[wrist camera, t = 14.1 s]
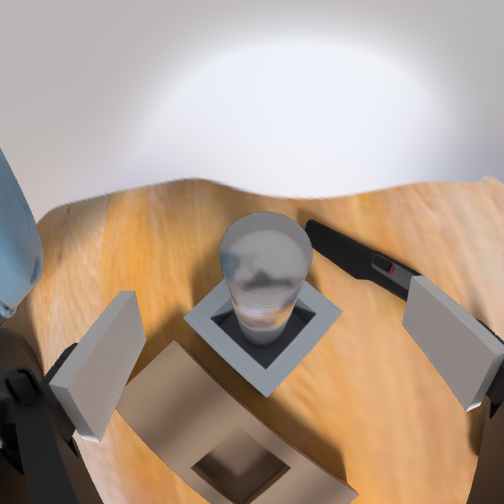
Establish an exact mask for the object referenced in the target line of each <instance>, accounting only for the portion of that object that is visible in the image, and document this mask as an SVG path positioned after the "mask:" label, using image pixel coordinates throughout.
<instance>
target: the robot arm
mask: <svg viewBox="0 0 504 504" xmlns="http://www.w3.org/2000/svg"><path fill="white" fill-rule="evenodd" d="M43 269H44V249H43V244H42V240H41V237H40V234H39V230H38V228H37V225H36V223H35V220H34V217H33V215H32V213H31V210H30V208H29V206H28V204H27V201H26V199H25V197H24V195H23V192H22V191H21V188H20V186H19V184H18V182H17V180H16V178H15V176H14V174H13V172H12V170H11V168H10V166H9V164H8V162H7V160H6V158H5V156H4V154H3V152H2V151H1V149H0V504H104V503H103V501H102V499H101V498H100V496H99V494H98V492H97V490H96V488H95V485H94V483H93V481H92V479H91V477H90V475H89V473H88V470H87V468H86V466H85V463H84V461H83V459H82V456H81V454H80V451H79V449H78V446H77V443H76V441H75V440H74V438H73V437H72V435H73V433H74V431H75V429H76V430H77V432H78V433H79V435H80V436H81V438H82V439H85V440H89V441H93V442H97V443H100V442H101V440H102V437H103V435H104V433H105V430H106V428H107V425H108V423H109V421H110V418H111V416H112V414H113V412H114V409H115V407H116V405H117V402H118V400H119V398H120V396H121V394H122V391H123V389H124V387H125V385H126V383H127V380H128V378H129V376H130V374H131V372H132V370H133V367H134V365H135V363H136V361H137V359H138V357H139V355H140V353H141V351H142V349H143V347H144V344H145V342H146V340H147V339H146V336H145V332H144V328H143V324H142V320H141V316H140V311H139V307H138V303H137V298H136V294H135V291H120V292H119V293H118V295H117V296H116V297H115V298H114V299H113V301H112V302H111V303H110V304H109V305H108V307H107V308H106V309H105V310H104V312H103V313H102V314H101V315H100V317H99V318H98V319H97V320H96V322H95V323H94V324H93V325H92V327H91V328H90V329H89V330H88V332H87V333H86V334H85V335H84V337H83V338H82V339H81V341H80V342H79V343H74V344H72V345H71V346H69V347H68V348H67V349H65V350H64V352H63V353H62V354H61V356H60V357H59V359H57V361H56V362H55V363H54V365H53V366H52V367H51V369H50V370H49V371H48V373H47V374H46V375H45V377H44V378H43V377H42V373H41V369H40V366H39V364H38V361H37V359H36V356H35V354H34V352H33V351H32V349H31V347H30V346H29V344H28V343H27V342H26V341H25V340H24V339H23V338H22V337H21V336H20V335H19V334H17V333H16V332H13V331H11V330H8V329H6V328H4V327H1V325H2V324H3V323H4V322H5V320H6V319H7V318H11V317H13V315H14V314H15V313H16V311H17V309H18V305H19V304H20V303H21V301H22V300H23V299H24V298H25V297H26V295H27V294H28V293H29V292H30V291H31V290H32V288H33V287H34V286H35V285H36V284H37V283H38V281H39V279H40V277H41V275H42V272H43ZM402 325H403V327H404V328H405V329H406V330H407V332H408V333H409V334H410V335H411V337H412V338H413V339H414V340H415V342H416V343H417V344H418V346H419V347H420V348H421V350H422V351H423V352H424V353H425V355H426V356H427V357H428V359H429V360H430V361H431V363H432V364H433V365H434V367H435V368H436V369H437V371H438V372H439V374H440V375H441V376H442V378H443V379H444V380H445V382H446V383H447V385H448V386H449V387H450V389H451V390H452V392H453V393H454V394H455V396H456V397H457V399H458V400H459V402H460V403H461V404H462V406H463V407H464V409H465V410H466V411H469V410H471V409H473V408H475V407H478V406H480V404H481V402H482V401H483V399H484V397H485V395H487V396H488V397H489V398H490V399H489V401H488V403H487V405H486V406H485V408H484V410H483V411H482V413H481V414H480V416H479V419H478V420H481V418H482V417H483V415H484V414H485V419H484V421H485V422H484V429H483V436H482V442H481V448H480V453H479V458H478V462H477V467H476V471H475V475H474V479H473V483H472V487H471V490H470V494H469V497H468V500H467V503H466V504H504V341H503V340H502V339H501V338H499V337H498V336H497V335H495V333H494V332H493V331H492V330H490V328H489V327H488V326H486V325H485V324H484V323H483V322H481V321H479V320H478V319H476V318H474V317H473V316H472V315H470V314H469V313H468V312H467V311H466V310H465V309H464V308H462V307H461V306H460V305H459V304H458V303H457V302H455V301H454V300H453V299H452V298H451V297H449V296H448V295H447V294H446V293H445V292H443V291H442V290H441V289H440V288H439V287H437V286H436V285H435V284H434V283H432V282H431V281H430V280H429V279H427V278H426V277H425V276H424V275H422V276H412V277H411V282H410V288H409V293H408V299H407V304H406V309H405V314H404V318H403V323H402Z"/></svg>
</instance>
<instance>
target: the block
mask: <svg viewBox="0 0 504 504" xmlns="http://www.w3.org/2000/svg"><path fill="white" fill-rule="evenodd" d="M342 312H343V311H342V310H340V309H339V308H338V307H337V306H336V305H334V304H333V303H332V302H331V301H329V300H328V299H327V298H326V297H325V296H323V295H322V294H321V293H320V292H319V291H317V290H316V289H315V288H314V287H313V286H311V285H310V284H309V283H308V282H306V281H304V284H303V286H302V289H301V291H300V293H299V296H298V298H297V301H296V303H295V305H294V308H293V310H292V312H291V315H290V317H289V319H288V322H287V324H286V326H285V328H284V331H283V333H282V335H281V337H280V339H279V340H278V342H277V343H275V344H274V345H273V346H271V347H268V348H256V347H253V346H251V345H250V344H248V343H247V342H246V341H245V339H244V338H243V335H242V333H241V329H240V326H239V323H238V320H237V316H236V313H235V310H234V307H233V303H232V300H231V297H230V293H229V290H228V287H227V283H226V280H225V278H224V279H223V280H222V281H221V282H220V283H219V284H218V285H217V286H216V287H215V288H214V289H212V290H211V291H210V292H209V293H208V294H207V295H206V296H205V297H204V298H203V299H202V300H201V301H200V302H199V303H198V304H197V305H196V306H195V307H194V308H193V309H192V310H191V311H190V312H189V313H188V314H187V315H186V316H184V317H183V319H184V320H185V321H186V322H187V323H188V324H189V325H190V326H191V327H192V328H193V329H194V330H195V331H196V332H197V333H198V334H199V335H200V336H201V337H202V338H203V339H204V340H205V341H206V342H207V343H208V344H209V345H210V346H211V347H212V348H213V349H214V350H215V351H216V352H217V353H218V354H219V355H220V356H221V357H222V358H223V359H224V360H226V361H227V362H228V363H229V364H230V365H231V366H232V367H233V368H234V369H235V370H236V371H237V372H238V373H239V374H241V375H242V376H243V377H244V378H245V379H246V380H247V381H248V382H249V383H250V384H252V385H253V386H254V387H255V388H256V389H257V390H258V391H260V392H261V393H262V394H263V395H264V396H265V397H266V398H267V397H268V396H269V395H270V394H271V393H272V392H273V391H274V390H275V389H276V388H277V387H278V386H279V385H280V384H281V383H282V381H283V380H284V379H285V378H286V377H287V376H288V375H289V374H290V373H291V372H292V371H293V370H294V368H295V367H296V366H297V365H298V364H299V363H300V362H301V361H302V360H303V358H304V357H305V356H306V355H307V354H308V353H309V352H310V350H311V349H312V348H313V347H314V346H315V345H316V343H317V342H318V341H319V340H320V339H321V338H322V336H323V335H324V334H325V333H326V332H327V330H328V329H329V328H330V327H331V325H332V324H333V323H334V322H335V321H336V319H337V318H338V317H339V316H340V314H341V313H342Z"/></svg>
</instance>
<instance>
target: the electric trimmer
mask: <svg viewBox="0 0 504 504" xmlns="http://www.w3.org/2000/svg"><path fill="white" fill-rule="evenodd" d="M305 232H306V233H307V235H308V237H309V239H310V242H311V246H312V248H314V249H315V250H316V251H318V252H319V253H321V254H322V255H323V256H325V257H326V258H328V259H329V260H330V261H332V262H333V263H334V264H336V265H337V266H339V267H340V268H341V269H343V270H344V271H346V272H347V273H348V274H350V275H351V276H353V277H354V278H356V279H363V280H370V281H373V282H374V283H376V284H378V285H379V286H381V287H383V288H385V289H386V290H388V291H390V292H391V293H393V294H395V295H396V296H398V297H400V298H401V299H403V300H405V301H406V302H407V299H408V293H409V288H410V282H411V277H412V276H422V275H421V274H420V273H418V272H416V271H414V270H412V269H410V268H409V267H407V266H405V265H403V264H401V263H399V262H397V261H395V260H394V259H392V258H390V257H388V256H386V255H384V254H382V253H380V252H377V251H375V250H372V249H370V248H368V247H366V246H364V245H362V244H360V243H359V242H357V241H355V240H353V239H351V238H349V237H347V236H345V235H343V234H341V233H339V232H337V231H335V230H333V229H331V228H329V227H327V226H325V225H323V224H320V223H318V222H316V221H314V220H308V222H307V224H306V228H305Z"/></svg>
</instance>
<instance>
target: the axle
mask: <svg viewBox="0 0 504 504" xmlns="http://www.w3.org/2000/svg"><path fill="white" fill-rule="evenodd" d="M312 255H313V254H312V246H311V242H310V239H309V237H308V235H307V233H306V232H305V231H304V229H303V228H302V227H301V226H300V225H299V224H298V223H297V222H295V221H294V220H292V219H291V218H289V217H287V216H285V215H282V214H279V213H274V212H257V213H252V214H249V215H246V216H244V217H242V218H240V219H239V220H237V221H236V222H235V223H233V224H232V225H231V226H230V227H229V228H228V230H227V231H226V233H225V234H224V236H223V238H222V241H221V244H220V251H219V256H220V263H221V266H222V270H223V273H224V277H225V280H226V283H227V287H228V290H229V293H230V297H231V300H232V303H233V307H234V310H235V313H236V316H237V320H238V323H239V326H240V329H241V333H242V335H243V338H244V339H245V341H246V342H247V343H248V344H250V345H251V346H253V347H256V348H268V347H271V346H273V345H274V344H275V343H277V342H278V340H279V339H280V337H281V335H282V333H283V331H284V328H285V326H286V324H287V322H288V319H289V317H290V315H291V312H292V310H293V308H294V305H295V303H296V301H297V298H298V296H299V293H300V291H301V289H302V286H303V284H304V281H305V279H306V276H307V274H308V271H309V269H310V266H311V263H312Z"/></svg>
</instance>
